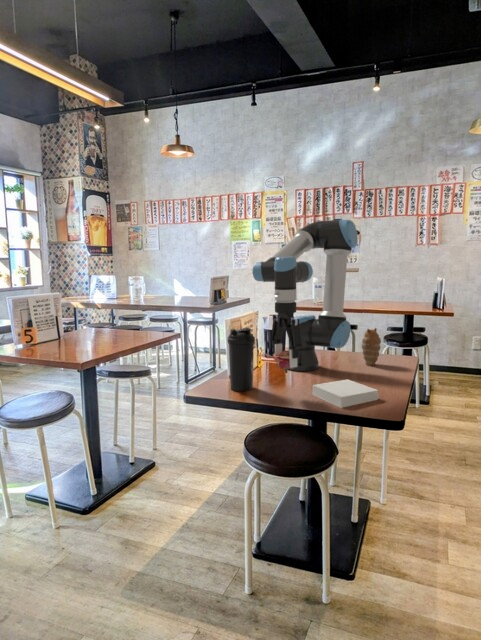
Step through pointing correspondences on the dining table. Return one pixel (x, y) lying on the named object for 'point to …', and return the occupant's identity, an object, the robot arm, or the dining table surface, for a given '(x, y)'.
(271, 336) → the robot arm
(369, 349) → the cat ice cream
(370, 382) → the dining table surface
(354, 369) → the dining table surface
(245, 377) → the water bottle
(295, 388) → the dining table surface
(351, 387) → the block
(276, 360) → the flower
